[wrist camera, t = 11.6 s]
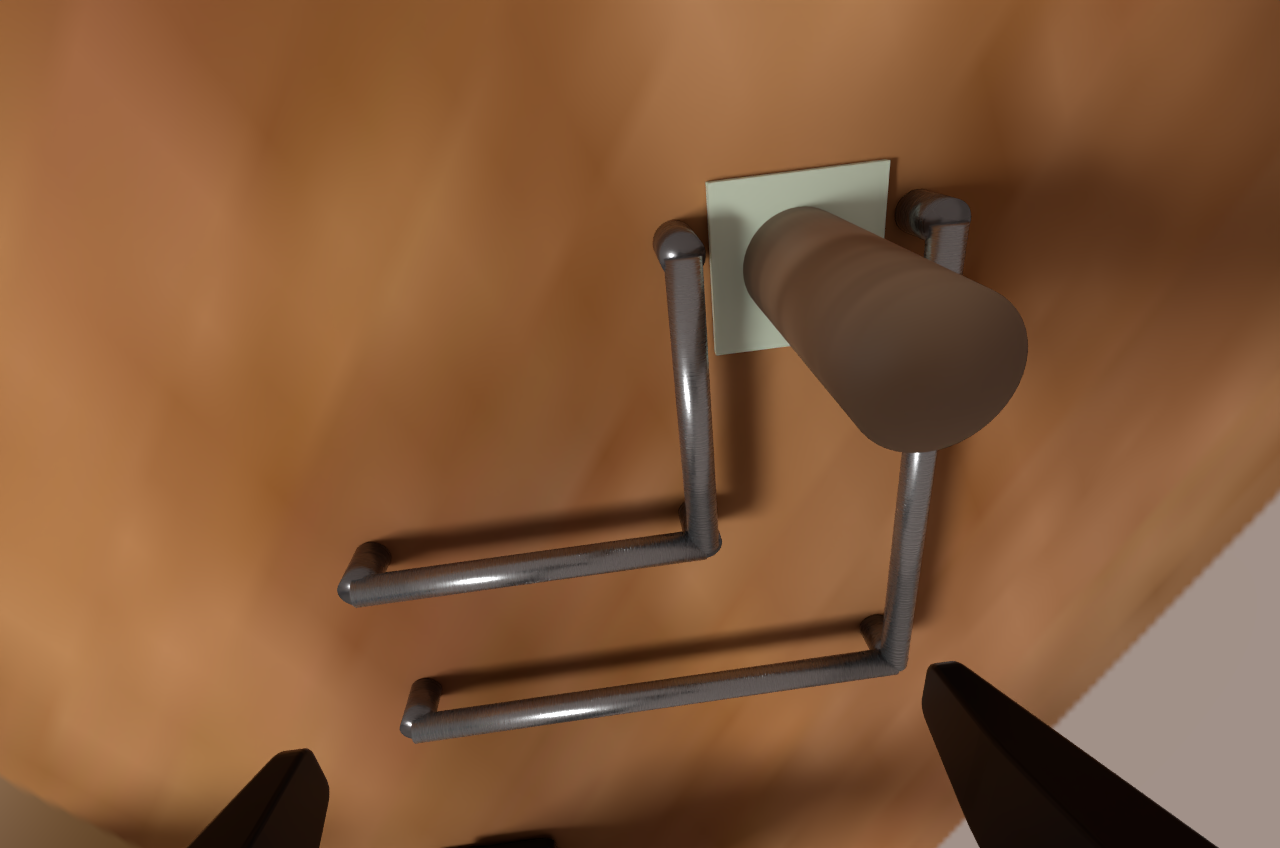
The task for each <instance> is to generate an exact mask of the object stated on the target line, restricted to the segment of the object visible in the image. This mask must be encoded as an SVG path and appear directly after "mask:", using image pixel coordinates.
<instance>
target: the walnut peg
mask: <svg viewBox="0 0 1280 848" xmlns="http://www.w3.org/2000/svg"><path fill="white" fill-rule="evenodd" d="M743 278H744V282H745V286H746V289H747V291H748V293H749V295H750V297H751V298H752V300H753V301H754V302H755V303H756V305H757V306H758V307H759V308H760V310H761V311H762V312H763V313H764V314H765V316H766V317H767V318H768V319H769V320H770V322H771V323H772V324H773V325H774V326H775V328H776V329H777V330H778V331H779V333H780V334H781V335H782V336H783V337H784V339H785V340H786V341H787V342H788V343H789V345H790V346H791V347H792V348H793V349H794V351H795V352H796V353H797V354H798V356H799V357H800V358H801V359H802V360H803V362H804V363H805V364H806V365H807V366H808V368H809V369H810V370H811V371H812V373H813V374H814V375H815V376H816V377H817V379H818V380H819V381H820V382H821V383H822V385H823V386H824V387H825V388H826V389H827V391H828V392H829V393H830V394H831V396H832V397H833V398H834V399H835V400H836V402H837V403H838V404H839V405H840V406H841V408H842V409H843V410H844V411H845V412H846V414H847V415H848V416H849V417H850V419H851V420H852V421H853V422H854V423H855V425H856V426H857V427H858V428H859V429H860V431H861V432H862V433H863V434H864V435H865V436H866V437H867V438H869V439H870V440H871V441H873V442H874V443H876V444H878V445H880V446H882V447H884V448H887V449H890V450H893V451H898V452H904V453H923V452H930V451H935V450H939V449H943V448H946V447H949V446H952V445H954V444H956V443H959V442H961V441H963V440H965V439H967V438H968V437H970V436H972V435H973V434H975V433H976V432H978V431H979V430H981V429H982V428H983V427H984V426H986V425H987V424H988V423H989V422H991V421H992V420H993V419H994V418H995V417H996V416H997V415H998V414H999V413H1000V411H1001V410H1002V409H1003V408H1004V407H1005V405H1006V404H1007V403H1008V401H1009V400H1010V398H1011V397H1012V396H1013V394H1014V392H1015V390H1016V389H1017V387H1018V385H1019V383H1020V380H1021V378H1022V375H1023V373H1024V369H1025V365H1026V361H1027V353H1028V339H1027V333H1026V328H1025V325H1024V322H1023V320H1022V318H1021V316H1020V314H1019V312H1018V311H1017V309H1016V308H1015V307H1014V306H1013V304H1012V303H1011V302H1010V301H1008V300H1007V299H1006V298H1005V297H1004V296H1002V295H1001V294H999V293H997V292H996V291H994V290H992V289H989V288H987V287H985V286H983V285H981V284H979V283H977V282H975V281H973V280H971V279H968V278H966V277H964V276H962V275H960V274H958V273H956V272H954V271H952V270H949V269H947V268H945V267H943V266H941V265H939V264H937V263H935V262H933V261H930V260H928V259H926V258H924V257H922V256H920V255H918V254H916V253H914V252H912V251H909V250H907V249H905V248H903V247H901V246H899V245H897V244H895V243H893V242H890V241H888V240H886V239H884V238H882V237H880V236H878V235H876V234H874V233H871V232H869V231H867V230H865V229H863V228H861V227H859V226H857V225H855V224H853V223H850V222H848V221H846V220H844V219H842V218H840V217H838V216H836V215H834V214H831V213H829V212H827V211H825V210H822V209H820V208H815V207H807V206H803V207H795V208H790V209H787V210H784V211H782V212H780V213H778V214H776V215H774V216H773V217H771V218H770V219H769V220H767V221H766V222H765V223H764V224H763V225H762V226H761V227H760V228H759V229H758V230H757V232H756V233H755V234H754V236H753V237H752V239H751V241H750V243H749V245H748V247H747V250H746V253H745V257H744V262H743Z"/></svg>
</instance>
